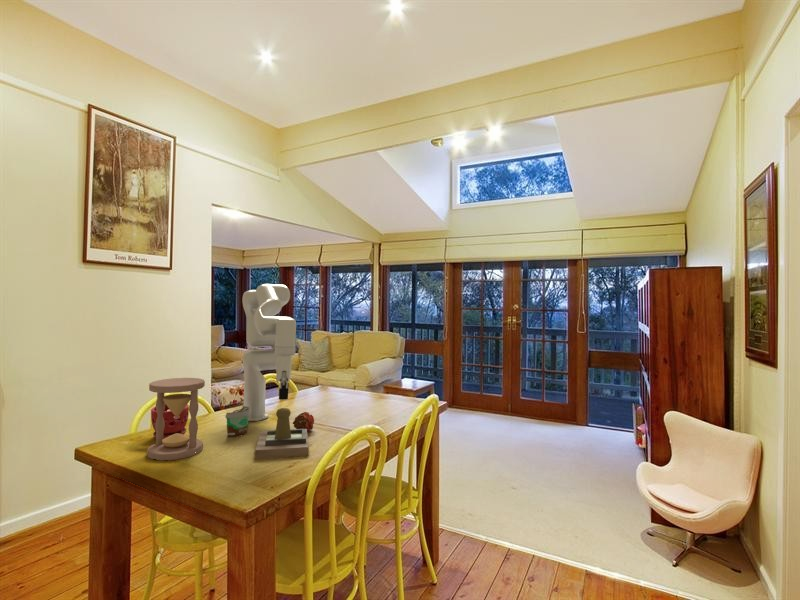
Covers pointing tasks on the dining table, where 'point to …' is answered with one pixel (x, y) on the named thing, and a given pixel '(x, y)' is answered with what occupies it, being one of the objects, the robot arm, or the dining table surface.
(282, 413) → the brown rounded bulbous piece
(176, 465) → the dining table surface
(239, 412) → the food container
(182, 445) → the hourglass
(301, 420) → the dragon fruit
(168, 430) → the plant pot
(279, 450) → the dock
